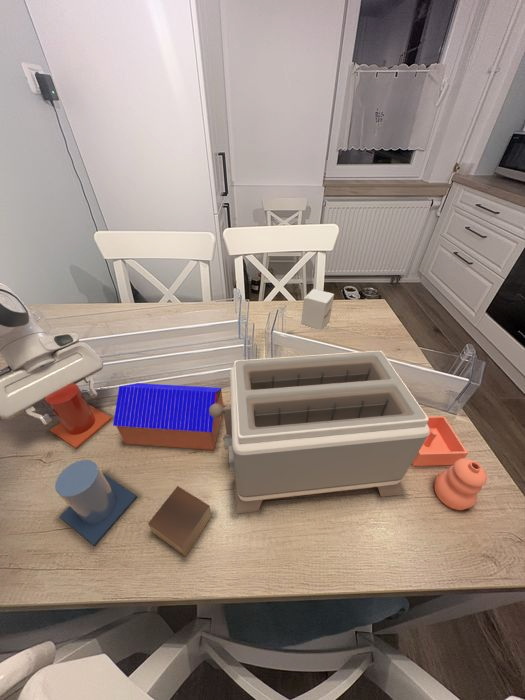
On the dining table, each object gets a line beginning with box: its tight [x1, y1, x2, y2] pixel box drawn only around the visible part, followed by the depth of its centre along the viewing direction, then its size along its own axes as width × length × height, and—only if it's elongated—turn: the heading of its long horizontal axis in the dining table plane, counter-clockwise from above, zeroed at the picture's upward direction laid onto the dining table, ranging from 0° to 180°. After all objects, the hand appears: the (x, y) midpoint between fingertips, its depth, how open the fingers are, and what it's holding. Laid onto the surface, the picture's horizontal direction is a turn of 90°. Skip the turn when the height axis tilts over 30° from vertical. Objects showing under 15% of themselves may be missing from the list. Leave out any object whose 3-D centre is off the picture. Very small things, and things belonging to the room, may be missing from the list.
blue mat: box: [59, 472, 138, 547], centre depth 52 cm, size 9×9×1 cm
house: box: [112, 382, 224, 451], centre depth 63 cm, size 12×20×12 cm, turn 86°
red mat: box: [49, 403, 113, 449], centre depth 66 cm, size 9×9×1 cm
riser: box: [147, 485, 213, 557], centre depth 49 cm, size 7×7×4 cm
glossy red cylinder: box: [45, 383, 95, 435], centre depth 63 cm, size 6×6×10 cm
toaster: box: [209, 349, 429, 515], centre depth 54 cm, size 19×34×20 cm, turn 96°
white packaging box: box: [300, 288, 335, 330], centre depth 93 cm, size 7×7×13 cm
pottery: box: [411, 415, 488, 511], centre depth 56 cm, size 18×10×10 cm, turn 2°
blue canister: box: [54, 459, 117, 524], centre depth 49 cm, size 6×6×10 cm
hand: (72, 409), depth 62 cm, fingers open, 8 cm apart
